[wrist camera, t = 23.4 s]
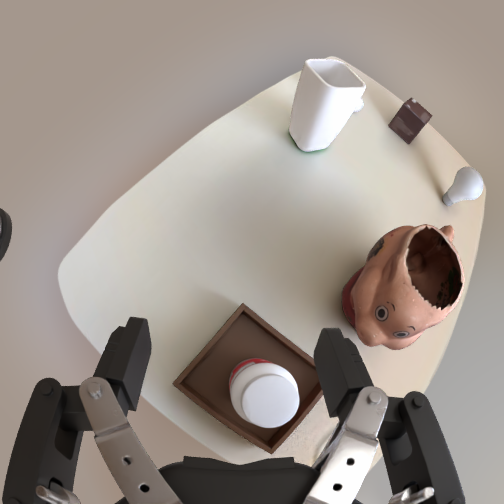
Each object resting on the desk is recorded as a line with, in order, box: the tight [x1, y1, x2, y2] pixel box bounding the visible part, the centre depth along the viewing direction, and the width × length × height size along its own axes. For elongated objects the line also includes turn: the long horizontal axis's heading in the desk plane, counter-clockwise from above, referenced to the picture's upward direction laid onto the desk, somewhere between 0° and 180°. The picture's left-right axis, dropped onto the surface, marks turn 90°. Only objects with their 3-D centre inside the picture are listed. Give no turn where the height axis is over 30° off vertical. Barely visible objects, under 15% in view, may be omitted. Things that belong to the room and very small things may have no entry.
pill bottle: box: [229, 358, 299, 428], centre depth 24 cm, size 6×6×11 cm
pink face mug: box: [342, 224, 464, 350], centre depth 29 cm, size 20×12×14 cm, turn 136°
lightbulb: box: [443, 167, 483, 206], centre depth 38 cm, size 6×6×11 cm
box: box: [388, 98, 432, 144], centre depth 44 cm, size 6×6×7 cm
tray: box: [172, 303, 323, 454], centre depth 29 cm, size 14×12×3 cm
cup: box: [289, 59, 366, 152], centre depth 36 cm, size 7×7×15 cm
